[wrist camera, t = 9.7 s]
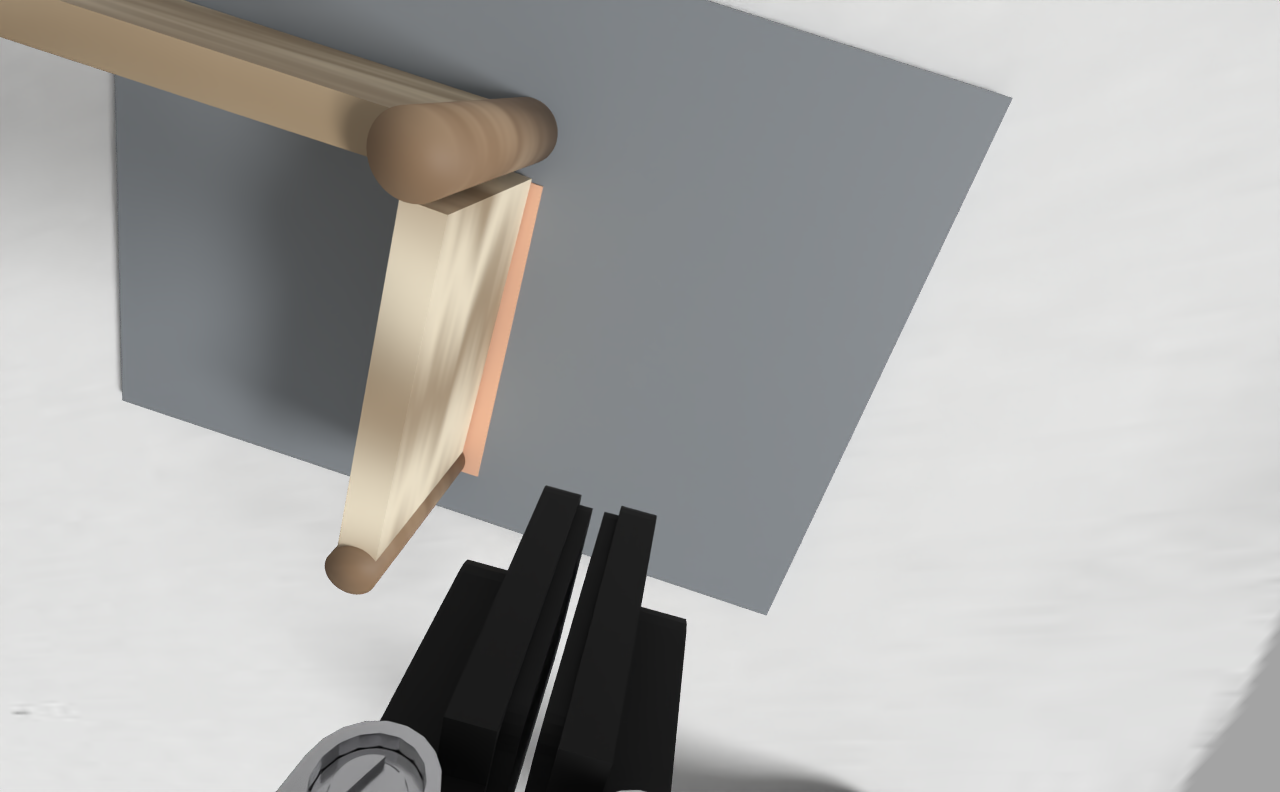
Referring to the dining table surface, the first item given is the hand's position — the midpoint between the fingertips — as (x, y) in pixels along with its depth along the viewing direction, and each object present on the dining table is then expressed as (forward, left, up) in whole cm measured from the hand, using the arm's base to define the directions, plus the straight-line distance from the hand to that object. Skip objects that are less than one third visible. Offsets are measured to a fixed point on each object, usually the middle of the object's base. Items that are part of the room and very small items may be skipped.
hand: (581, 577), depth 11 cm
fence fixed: (-4, -13, -15) cm, 20 cm away
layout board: (+1, -7, -16) cm, 17 cm away
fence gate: (+4, -6, -15) cm, 17 cm away
